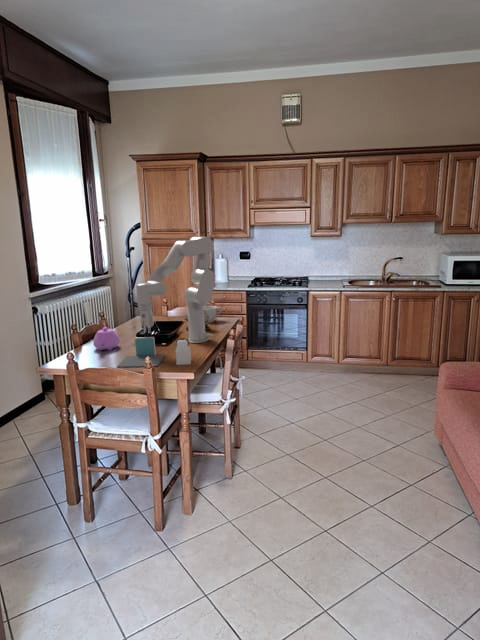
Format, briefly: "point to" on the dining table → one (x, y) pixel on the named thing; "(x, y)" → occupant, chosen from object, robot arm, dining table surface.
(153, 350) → the tile
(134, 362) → the mat
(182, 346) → the medicine bottle
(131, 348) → the dining table surface
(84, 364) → the dining table surface
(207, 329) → the owl figurine
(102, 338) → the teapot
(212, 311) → the teacup
